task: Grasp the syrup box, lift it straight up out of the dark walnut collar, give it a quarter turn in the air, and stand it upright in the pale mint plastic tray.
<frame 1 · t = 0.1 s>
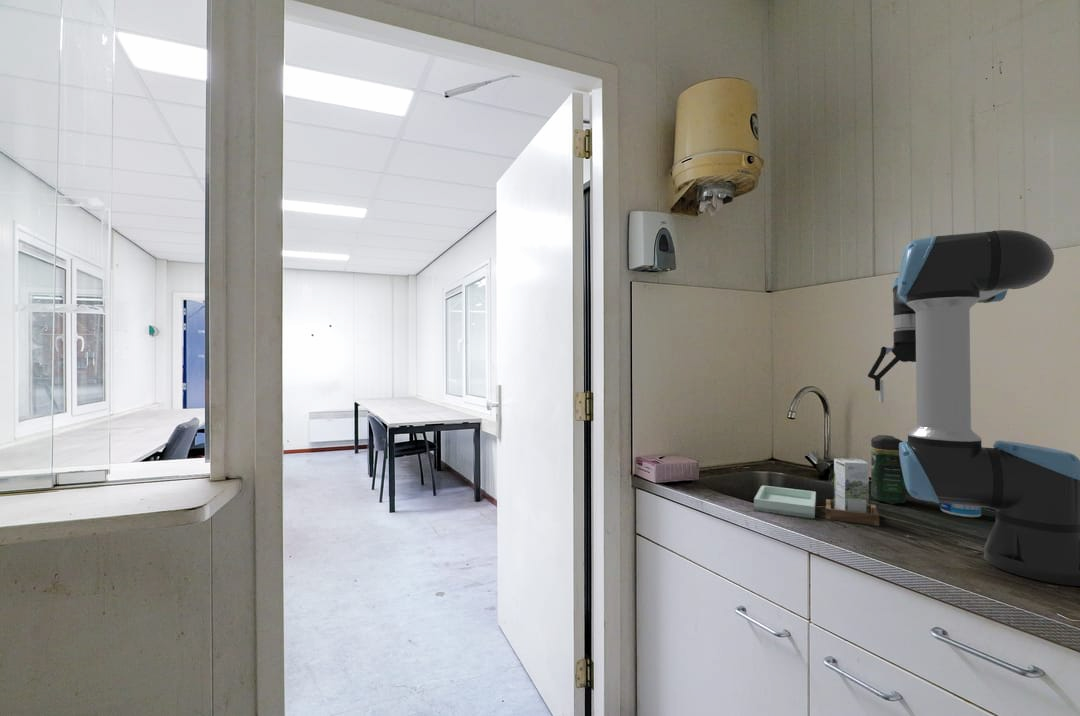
hand: (910, 403, 142), 28 cm above the worktop, fingers open, 13 cm apart
syrup box: (851, 517, 125), resting in walnut collar
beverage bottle: (960, 514, 129), on the worktop
walnut collar: (851, 516, 125), on the worktop
coffee jar: (888, 500, 142), on the worktop
mint tray: (785, 506, 134), on the worktop
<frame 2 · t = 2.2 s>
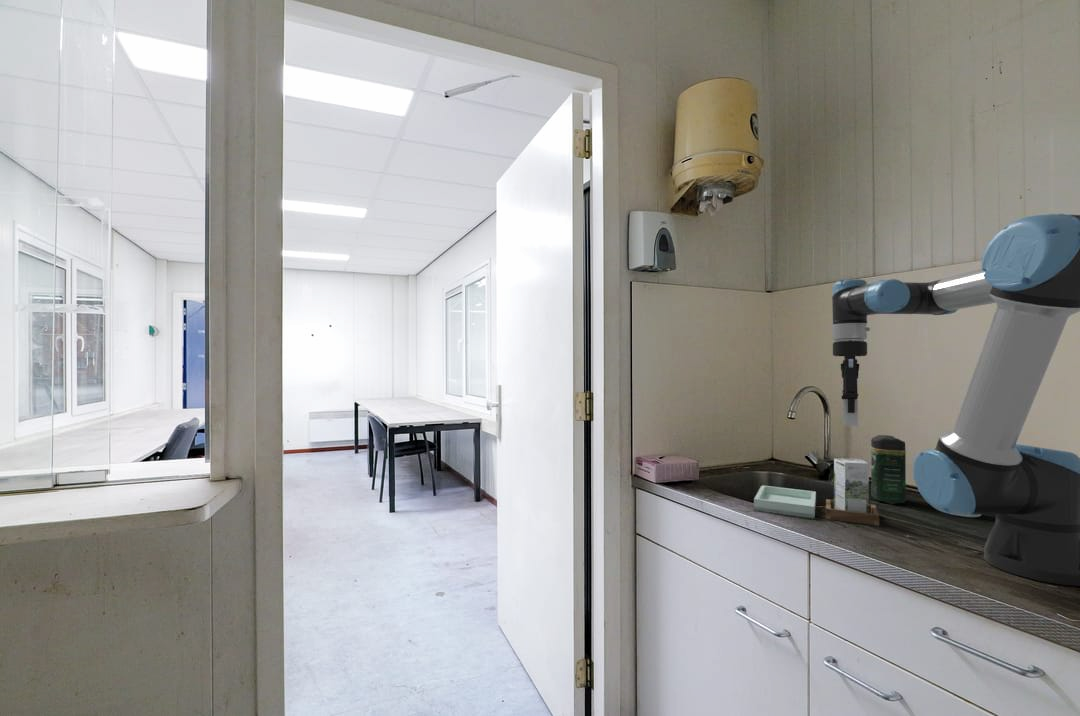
hand: (849, 423, 126), 24 cm above the worktop, fingers open, 13 cm apart
nothing on the worktop moved.
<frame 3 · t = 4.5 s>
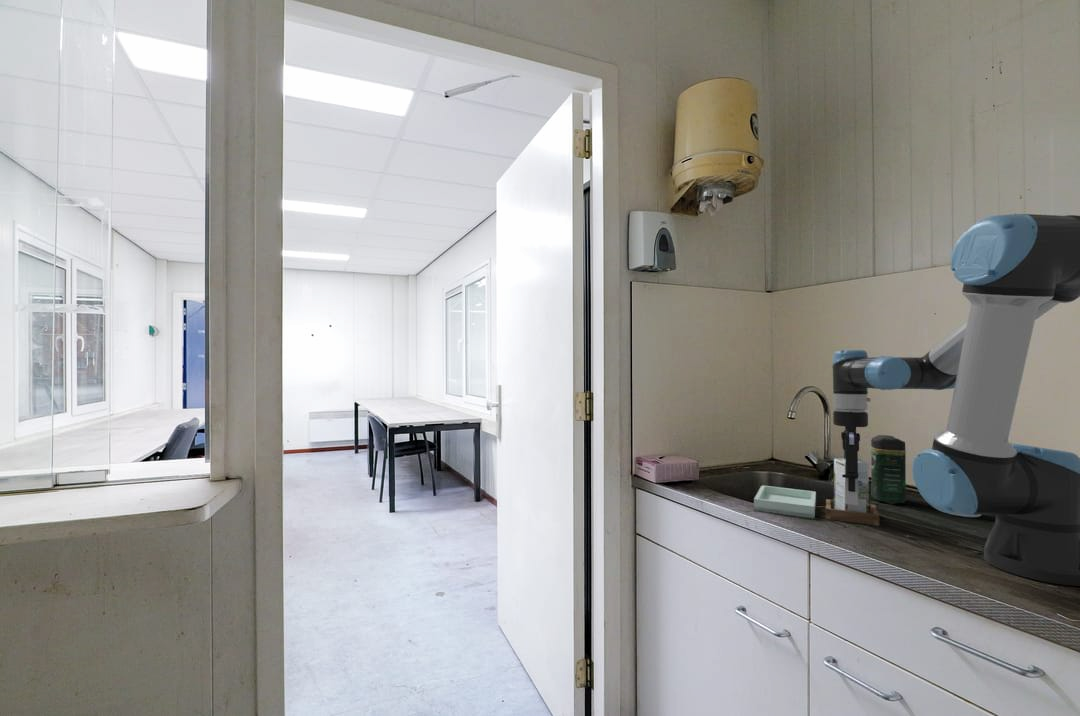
hand: (850, 500, 125), 4 cm above the worktop, fingers closed on syrup box, 7 cm apart
syrup box: (851, 517, 125), resting in walnut collar, touching gripper
everything else where it was.
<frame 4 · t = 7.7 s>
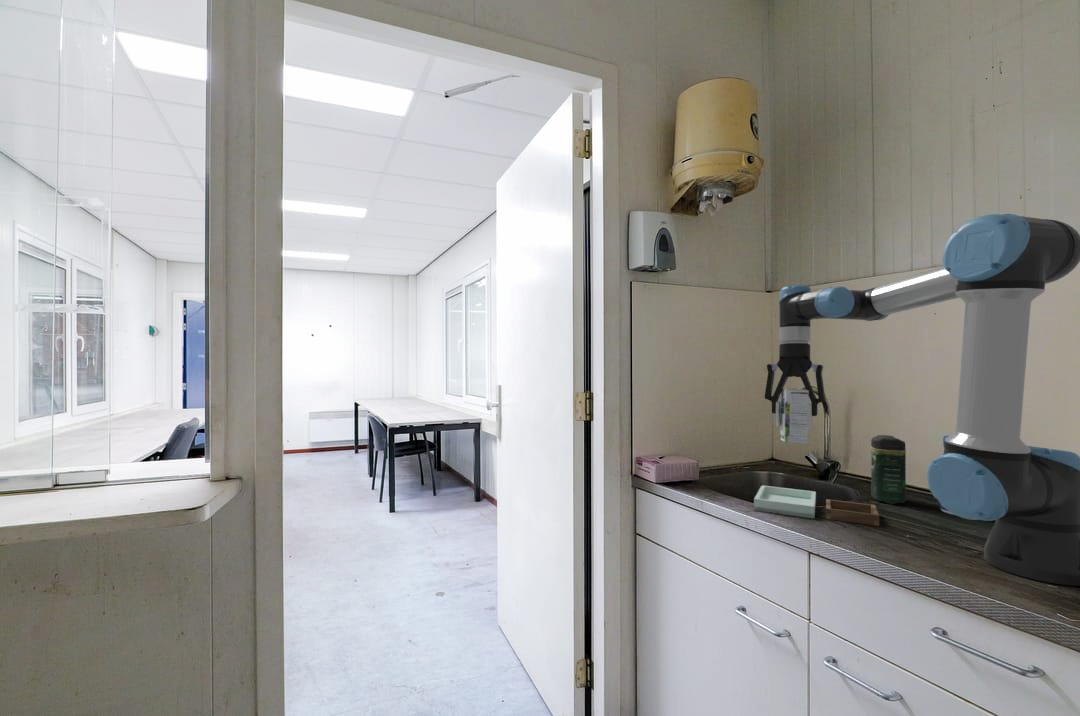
hand: (794, 426, 134), 22 cm above the worktop, fingers closed on syrup box, 7 cm apart
syrup box: (794, 442, 134), point 17 cm above the worktop, touching gripper
everything else where it was.
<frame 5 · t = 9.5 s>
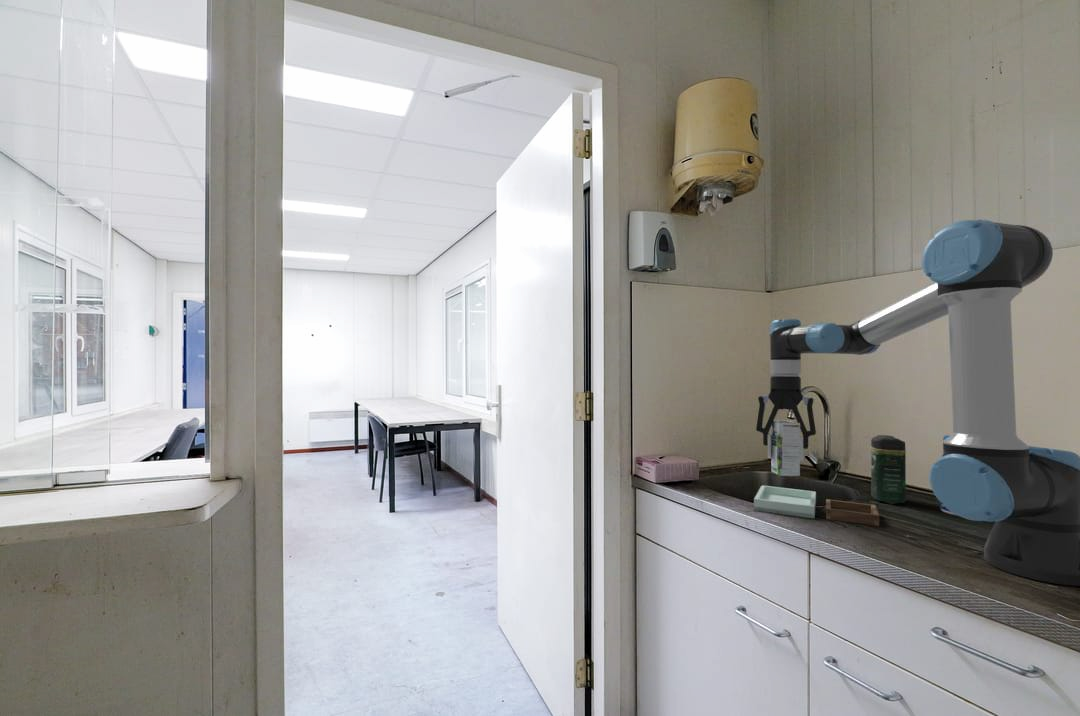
hand: (785, 459, 135), 13 cm above the worktop, fingers closed on syrup box, 7 cm apart
syrup box: (785, 474, 135), point 9 cm above the worktop, touching gripper
everything else where it was.
when the fingers open (7 cm above the worktop, at t = 11.1 s): syrup box drops 1 cm, resting on mint tray.
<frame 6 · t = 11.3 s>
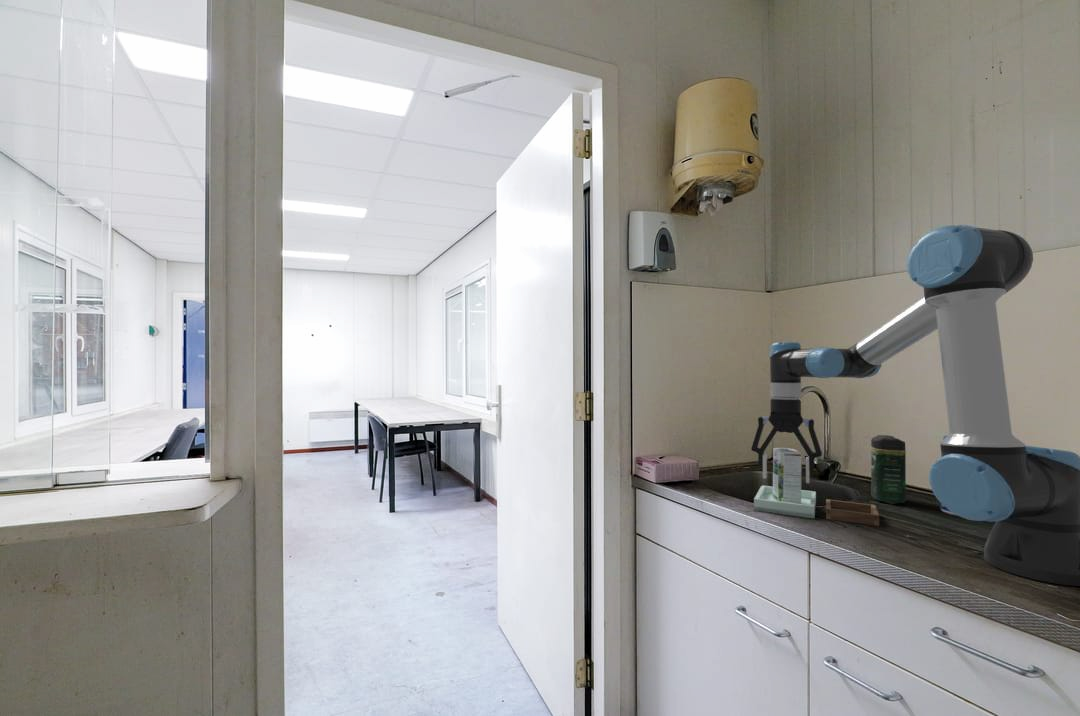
hand: (785, 479, 135), 7 cm above the worktop, fingers open, 10 cm apart
syrup box: (786, 503, 134), point 1 cm above the worktop, touching mint tray
everything else where it was.
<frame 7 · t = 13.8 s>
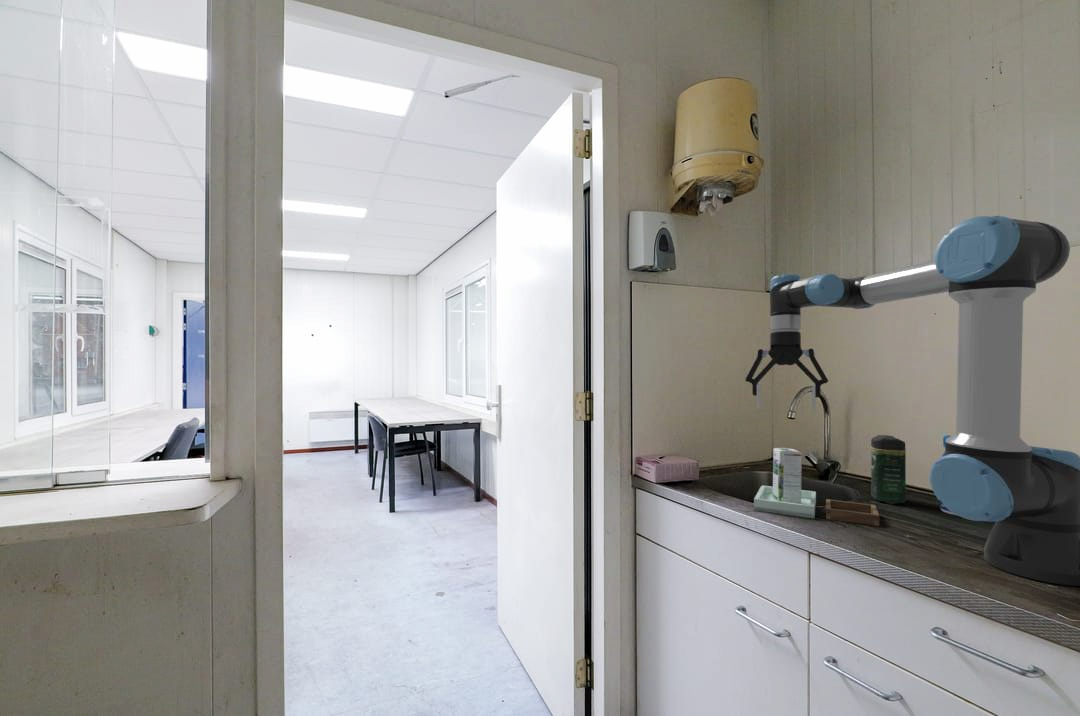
hand: (785, 408, 135), 27 cm above the worktop, fingers open, 13 cm apart
nothing on the worktop moved.
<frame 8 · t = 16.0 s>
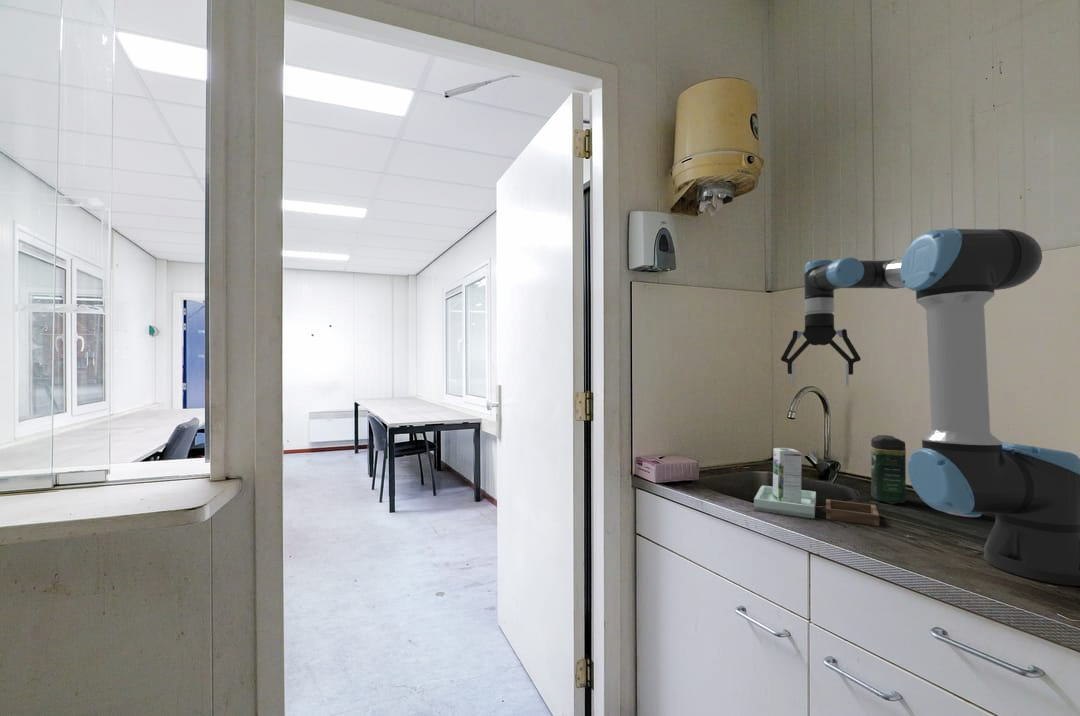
hand: (819, 386, 144), 33 cm above the worktop, fingers open, 13 cm apart
nothing on the worktop moved.
at the end: syrup box inside the target area on the mint tray (0.3 cm from its centre), point 0.8 cm above the mint tray's base; syrup box tilted 0°; the gripper is holding nothing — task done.
